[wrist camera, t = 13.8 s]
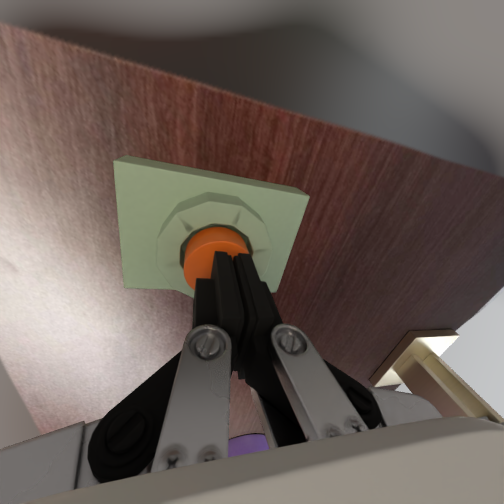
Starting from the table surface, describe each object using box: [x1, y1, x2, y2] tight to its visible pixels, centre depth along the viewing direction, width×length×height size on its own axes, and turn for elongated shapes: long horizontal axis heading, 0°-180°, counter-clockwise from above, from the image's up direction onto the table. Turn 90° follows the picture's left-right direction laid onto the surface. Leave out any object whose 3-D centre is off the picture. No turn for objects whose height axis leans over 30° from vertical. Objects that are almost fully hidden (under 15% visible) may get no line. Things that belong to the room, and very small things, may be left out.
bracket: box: [369, 329, 504, 423], centre depth 29 cm, size 12×9×12 cm
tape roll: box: [228, 434, 269, 457], centre depth 36 cm, size 12×12×5 cm
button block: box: [113, 155, 310, 298], centre depth 14 cm, size 11×8×4 cm
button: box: [184, 227, 249, 291], centre depth 12 cm, size 4×4×2 cm
